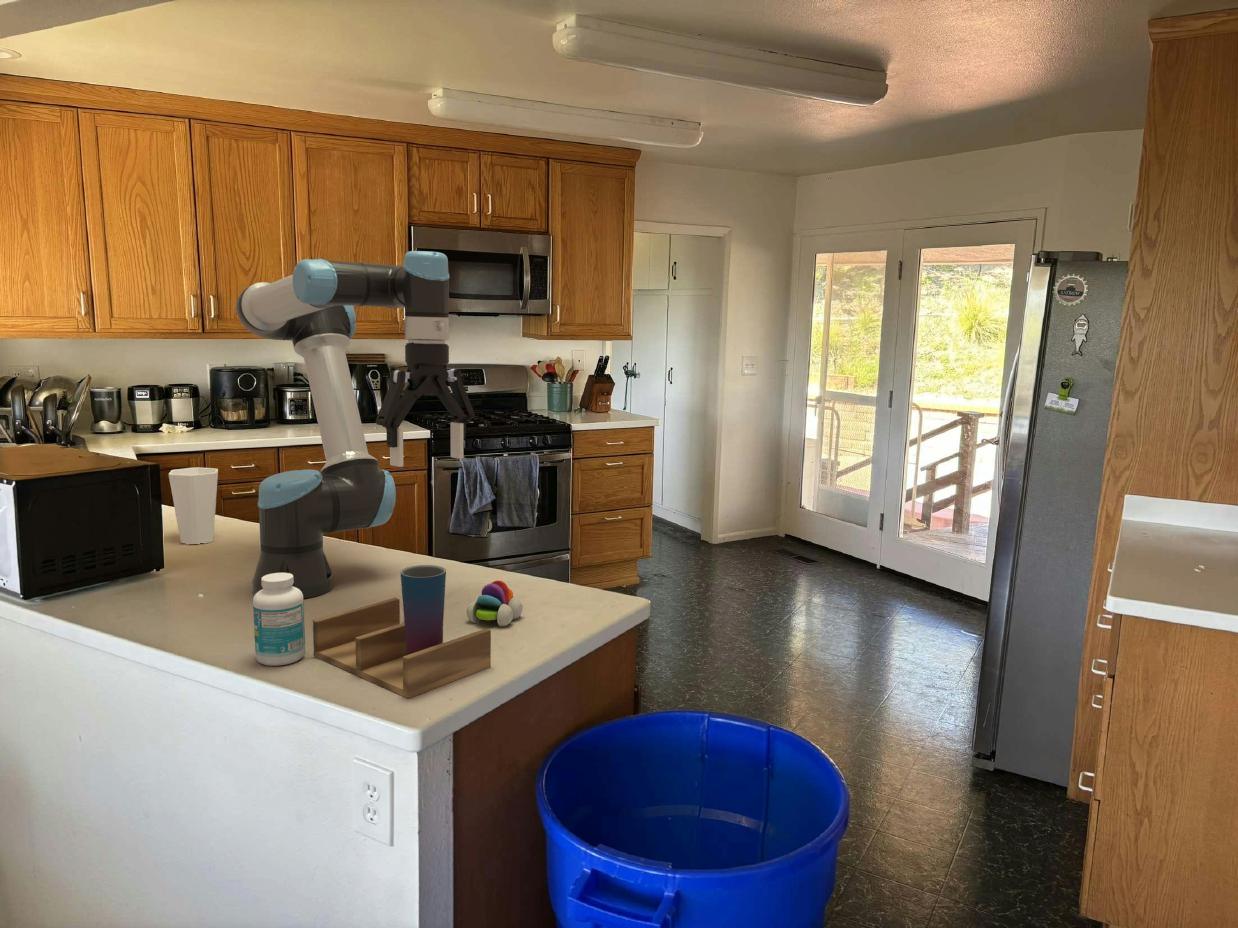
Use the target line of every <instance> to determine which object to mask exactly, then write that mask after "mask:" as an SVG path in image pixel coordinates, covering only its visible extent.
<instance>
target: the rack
mask: <svg viewBox="0 0 1238 928" xmlns="http://www.w3.org/2000/svg"><path fill="white" fill-rule="evenodd" d="M400 601H401V600H400V598H397V597H393V598H389V599H386V600H381V601H378V602H374V603H371V604H367V605H363V606H359V607H357V608H353V609H349V610H345V611H342V612H339V613H334V614H331V615H326V616H324V617H320V618H317V619H313V620H312V633H313V635H312V636H313V637H312V638H313V640H312V641H313V657H314V658H317V659H319V660H322V661H324V662H326V663H328V664H330V665H333V666H335V667H338V668H339V669H342V670H344V671H346V672H348V673H350V674H353V675H355V676H357V677H360V678H362V679H364V680H366V681H368V682H371V683H373V684H374V685H377V686H379V687H382V688H384V689H386V690H389V691H391V692H392V693H395V694H397V695H399V696H401V697H403V698H406V699H411V698H414V697H416V696H419V695H421V694H424V693H427V692H429V691H432V690H434V689H437V688H439V687H442V686H445V685H447V684H450V683H451V682H454V681H457V680H459V679H462V678H466V677H467V676H470V675H473V674H475V673H478V672H480V671H483V670H486V669H487V668H491V667H492V664H491V663H492V661H491V660H492V659H491V657H492V656H491V655H492V654H491V652H492V638H491V637H492V631H491V629H488V628H482V629H480V630H477V631H474V632H471V633H468V634H466V635H463V636H459V637H457V638H454V639H450V640H448V641H445V642H444V634H443V635H442V644H439V645H436V646H433V647H430V648H427V649H424V650H421V651H418V652H415V653H412V654H409V655H407V648H406V636H405V623H404V622H402V623H401V610H400V609H401V605H400V604H401V603H400Z"/></svg>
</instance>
